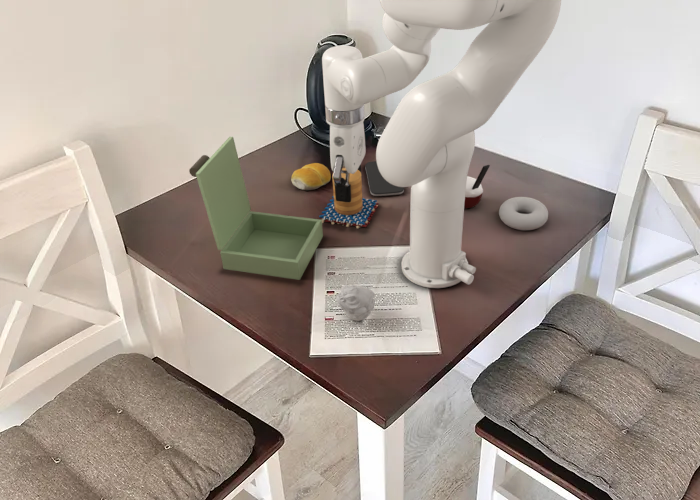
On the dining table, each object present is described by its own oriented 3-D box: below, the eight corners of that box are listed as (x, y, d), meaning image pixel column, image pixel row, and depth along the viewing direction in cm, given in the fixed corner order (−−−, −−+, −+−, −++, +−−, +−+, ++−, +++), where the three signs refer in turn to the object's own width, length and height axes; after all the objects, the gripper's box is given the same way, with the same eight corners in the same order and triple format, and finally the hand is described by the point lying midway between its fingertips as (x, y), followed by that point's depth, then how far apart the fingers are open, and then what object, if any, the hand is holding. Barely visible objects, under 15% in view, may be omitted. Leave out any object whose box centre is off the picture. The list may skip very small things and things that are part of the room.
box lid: (233, 136, 126) (208, 136, 128) (199, 173, 115) (173, 173, 116) (251, 209, 135) (228, 208, 137) (221, 250, 124) (197, 248, 126)
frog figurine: (331, 313, 116) (328, 282, 112) (366, 301, 119) (365, 270, 114) (345, 334, 112) (343, 303, 108) (382, 321, 114) (381, 290, 110)
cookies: (365, 201, 142) (364, 168, 137) (358, 216, 137) (357, 183, 133) (339, 198, 144) (336, 166, 139) (331, 213, 139) (328, 180, 134)
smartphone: (396, 159, 159) (405, 191, 147) (396, 162, 159) (405, 194, 147) (364, 161, 159) (371, 194, 146) (364, 165, 159) (371, 197, 147)
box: (323, 239, 135) (321, 219, 132) (300, 283, 124) (297, 262, 121) (252, 230, 139) (249, 211, 136) (223, 272, 127) (220, 252, 125)
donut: (531, 240, 132) (556, 217, 138) (533, 225, 130) (558, 203, 135) (488, 222, 138) (514, 201, 143) (490, 208, 136) (516, 188, 141)
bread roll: (337, 179, 154) (336, 164, 152) (310, 195, 149) (308, 179, 147) (313, 168, 159) (311, 153, 157) (285, 183, 154) (283, 168, 152)
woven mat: (366, 232, 136) (365, 224, 135) (318, 225, 139) (317, 217, 138) (380, 206, 144) (380, 198, 143) (334, 200, 147) (334, 192, 146)
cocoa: (448, 195, 147) (451, 146, 140) (476, 192, 147) (480, 144, 140) (458, 218, 139) (461, 168, 132) (487, 215, 139) (492, 165, 132)
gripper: (351, 133, 120) (355, 215, 130) (374, 95, 133) (376, 172, 144) (312, 130, 122) (319, 211, 132) (339, 93, 135) (343, 169, 145)
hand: (348, 190), depth 138 cm, fingers open, 7 cm apart
